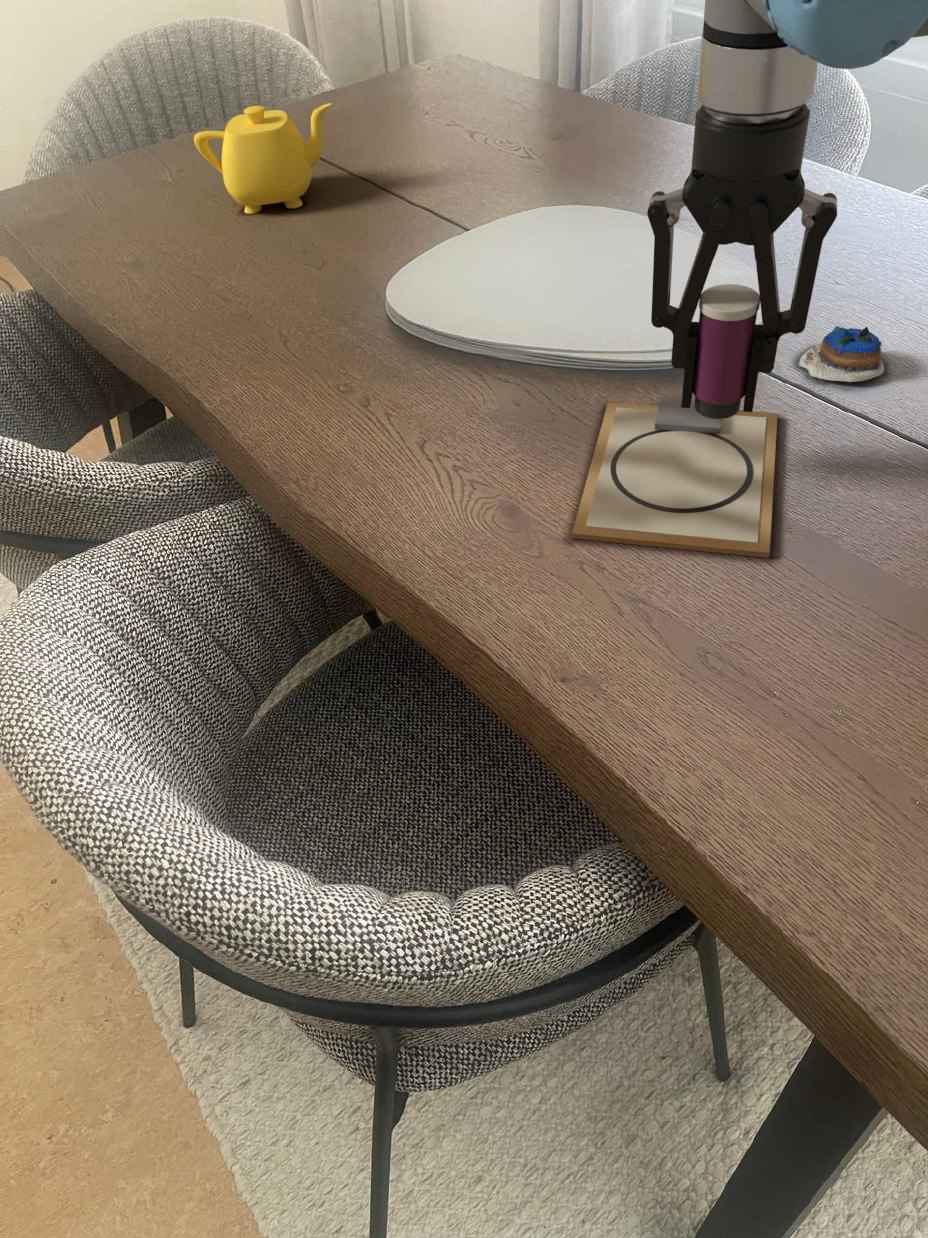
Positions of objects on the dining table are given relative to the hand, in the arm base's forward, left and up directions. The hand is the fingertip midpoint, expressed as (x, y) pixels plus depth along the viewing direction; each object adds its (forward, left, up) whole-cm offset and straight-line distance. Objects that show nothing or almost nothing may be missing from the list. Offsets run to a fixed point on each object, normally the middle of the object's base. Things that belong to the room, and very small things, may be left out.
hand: (717, 400), depth 80 cm
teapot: (+57, +66, -7) cm, 88 cm away
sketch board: (-2, +2, -7) cm, 7 cm away
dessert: (+18, -12, -7) cm, 22 cm away
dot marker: (0, 0, -1) cm, 1 cm away
